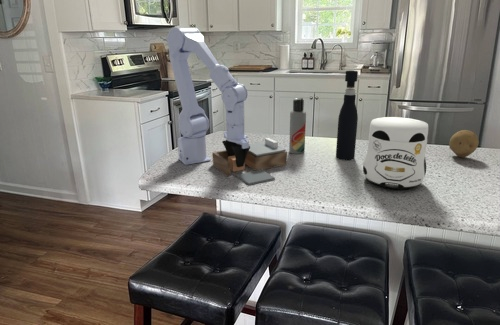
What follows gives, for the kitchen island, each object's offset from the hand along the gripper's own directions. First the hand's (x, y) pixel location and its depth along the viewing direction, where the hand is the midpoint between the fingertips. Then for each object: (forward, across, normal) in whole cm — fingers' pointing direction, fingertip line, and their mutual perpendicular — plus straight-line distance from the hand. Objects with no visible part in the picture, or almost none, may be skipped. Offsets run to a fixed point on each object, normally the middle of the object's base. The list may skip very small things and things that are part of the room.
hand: (236, 163), depth 122 cm
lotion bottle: (+2, +5, -28) cm, 28 cm away
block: (+2, 0, 0) cm, 2 cm away
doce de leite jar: (+2, -33, -36) cm, 49 cm away
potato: (+2, -29, -74) cm, 79 cm away
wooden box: (+2, +1, -6) cm, 6 cm away
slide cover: (-3, +1, -10) cm, 11 cm away
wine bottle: (+2, -9, -38) cm, 40 cm away
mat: (+2, -10, -2) cm, 11 cm away
